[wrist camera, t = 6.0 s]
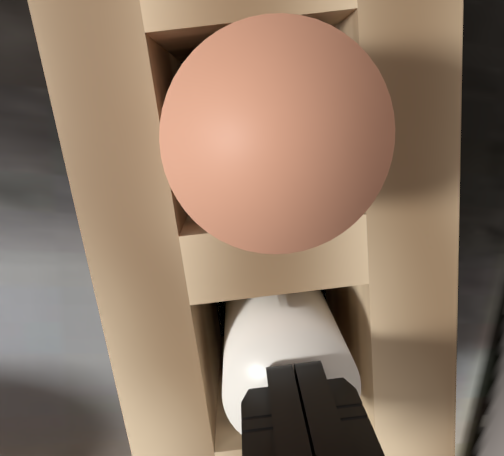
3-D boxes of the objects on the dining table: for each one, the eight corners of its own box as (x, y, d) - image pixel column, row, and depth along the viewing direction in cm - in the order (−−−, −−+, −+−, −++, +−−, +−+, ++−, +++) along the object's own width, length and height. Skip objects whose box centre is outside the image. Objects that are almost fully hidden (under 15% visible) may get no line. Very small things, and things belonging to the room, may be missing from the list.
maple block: (172, 371, 21) (142, 500, 14) (65, -200, 15) (-80, -464, 8) (382, 345, 21) (454, 462, 14) (362, -233, 15) (473, -521, 8)
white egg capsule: (232, 334, 19) (231, 458, 12) (220, 252, 18) (213, 339, 11) (318, 323, 19) (363, 442, 12) (311, 241, 18) (358, 322, 11)
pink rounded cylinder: (205, 190, 14) (178, 266, 8) (187, 67, 13) (139, 28, 6) (320, 176, 14) (397, 240, 8) (311, 53, 13) (392, -1, 6)
